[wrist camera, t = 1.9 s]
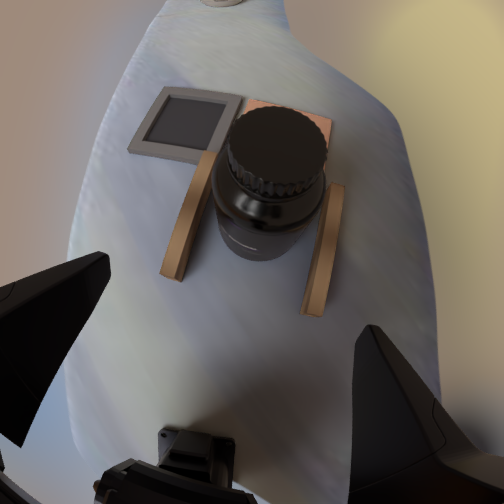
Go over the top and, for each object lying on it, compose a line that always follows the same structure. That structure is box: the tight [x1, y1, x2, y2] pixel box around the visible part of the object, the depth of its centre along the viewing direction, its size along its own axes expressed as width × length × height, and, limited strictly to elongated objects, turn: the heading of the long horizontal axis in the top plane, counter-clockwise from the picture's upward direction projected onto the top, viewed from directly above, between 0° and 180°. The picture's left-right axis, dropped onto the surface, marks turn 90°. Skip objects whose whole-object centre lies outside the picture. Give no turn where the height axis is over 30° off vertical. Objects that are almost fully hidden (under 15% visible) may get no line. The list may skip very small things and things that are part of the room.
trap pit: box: [127, 87, 242, 165], centre depth 26 cm, size 9×9×1 cm
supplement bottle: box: [212, 106, 328, 261], centre depth 18 cm, size 7×7×12 cm
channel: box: [159, 150, 345, 317], centre depth 22 cm, size 11×12×2 cm
